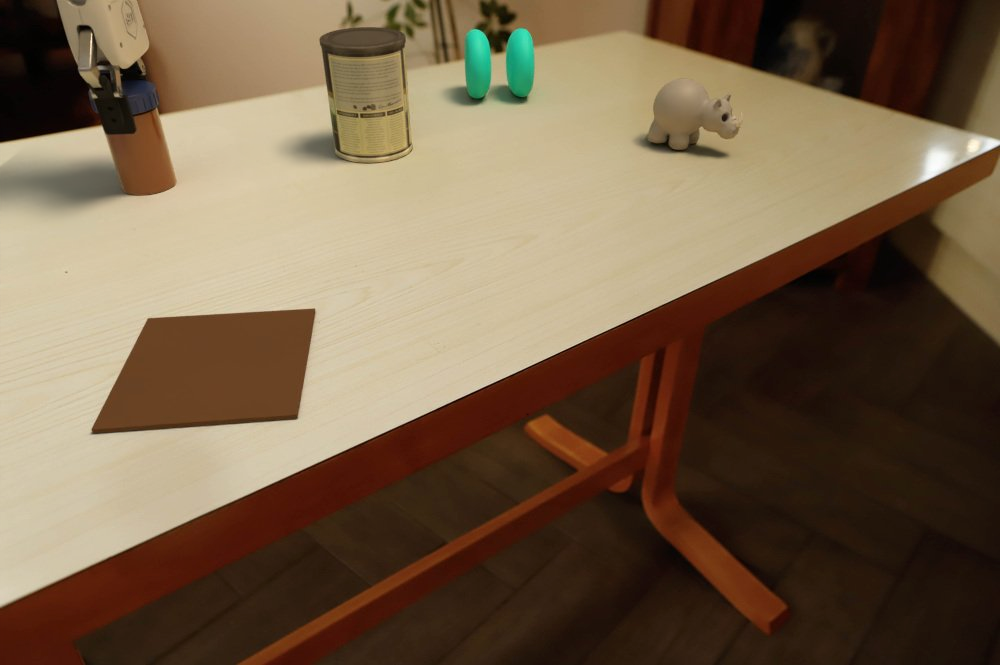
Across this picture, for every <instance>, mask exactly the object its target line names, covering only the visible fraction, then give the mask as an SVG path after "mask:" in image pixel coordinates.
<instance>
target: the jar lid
mask: <svg viewBox="0 0 1000 665" xmlns="http://www.w3.org/2000/svg"><path fill="white" fill-rule="evenodd" d="M110 82H111V81H110ZM111 83H112V82H111ZM121 86H122V95H127V97H128V101H129V104H130V108H131V111H132V114H136V113H141V112H145V111H148V110H150V109H153V108H155V107H156V106H157V107H158V106H159V104H160V98H159V97H160V96H159V93H158V90H157V88H156V85H155V83H153V82H151V81H149V80H148V81H142V80H125V81H121ZM88 96H89V98H88V99H89V102H90V105H91V108H92V110H93V112H94V113H96V114H98V110H97V107H96V104H95V101H94V99H93V98H92V96H91V93H90V89H89V90H88Z"/></svg>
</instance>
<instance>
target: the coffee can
mask: <svg viewBox="0 0 1000 665" xmlns="http://www.w3.org/2000/svg"><path fill="white" fill-rule="evenodd" d="M406 36H407V35H406V34H405V33H404V32H402V31H400V30H398V29H394V28H387V27H376V26H361V27H359V26H358V27H348V28H347V27H346V28H341V29H336V30H332V31H329V32H326V33H323V35H321V36H320V37H319V40H318V41H319V45H320V48H321V54H322V61H323V68H324V75H325V85H326V91H327V97H328V99H327V100H328V106H329V114H330V121H331V122H330V123H331V129H332V137H333V144H334V154H336V156H337V157H339V158H340V159H343V160H346V161H348V162H353V163H361V164H362V163H365V164H372V163H375V164H376V163H385V162H389V161H394V160H396V159H400V158H403V157H405V156H407V155H408V154H409V153H410V152H411V151H412V150H413V147H414V146H413V142H412V141H413V140H412V128H411V126H412V125H411V114H410V113H411V112H410V100H409V85H408V82H409V81H408V69H407V56H406V42H407V40H406V38H407V37H406Z"/></svg>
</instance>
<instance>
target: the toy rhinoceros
mask: <svg viewBox="0 0 1000 665" xmlns="http://www.w3.org/2000/svg"><path fill="white" fill-rule="evenodd" d="M731 96H732V93H728V94H726V95H725V96H724V97H722V98H713V99H710V96H709V93H708V92H707V90H706V88H705V87H704V85H702V84H701V83H700V82H698V81H696V80H694V79H692V78H687V77H681V78H676V79H672V80H671V81H669V82H667V83H666V84H664V85H663V86H662V87H661V88H660V89H659V90H658V92H657V94H656V96H655V98H654V100H653V101H654V102H653V105H652V106H653V107H652V111H653V120H652V122H651V124H650V126H649V129H648V133H647V140H648V141H649V142H650V143H653V144H664V143H666V142H667V141H668V146H669V147H670V148H671V149H673V150H677V151H683V150H686V149H688V147H689V145H692V144H696V143H698V142H699V139H700V134H701V133H700V128H701V127H702V128H703V129H704V130H705V131H706V132H710V133H716V134H717V135H718V136H719V137H720V138H722V139H723V140H732V139H734V138H735V137H736V136H737V135H738V134H739V131H740V128H741V125H742V124H743V122H744V121H743V120H744V118H743V112H740V114H739V116H738V118H737V119H736V117H737V116H736V115H733V107H732V105H731V104H730V100H731Z"/></svg>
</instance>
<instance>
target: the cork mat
mask: <svg viewBox="0 0 1000 665" xmlns="http://www.w3.org/2000/svg"><path fill="white" fill-rule="evenodd" d="M316 312H317V310H316V308H299V309H281V310H279V309H278V310H266V311H265V310H264V311H247V312H231V313H230V312H229V313H214V314H193V315H179V316H178V315H176V316H161V317H160V316H159V317H147V319H146V320H145V323H144V324H143V326H142V329H141V331H140V332H139V334H138V337H137V338H136V341H135V343H134V345H133V346H132V348H131V350H130V353H129V355H128V357H127V359H126V361H125V362H124V364H123V366H122V369H121V370H120V372H119V374H118V376H117V378H116V380H115V382H114V384H113V386H112V388H111V390H110V392H109V394H108V395H107V398H106V400H105V401H104V404H103V405H102V406H101V409H100V412H99V413H98V415H97V417H96V418H95V421H94V423H93V425H92V427H91V429H90V430H91V432H92V434H101V433H102V434H103V433H105V434H106V433H116V432H117V433H118V432H131V431H132V432H133V431H145V430H158V429H159V430H160V429H171V428H173V429H174V428H184V427H200V426H213V425H215V426H216V425H226V424H227V425H229V424H240V423H241V424H242V423H254V422H256V423H257V422H268V421H270V422H271V421H280V420H282V421H283V420H295V419H298V418H299V413H300V406H301V401H302V395H303V389H304V383H305V378H306V371H307V366H308V360H309V354H310V347H311V341H312V335H313V330H314V324H315V318H316Z"/></svg>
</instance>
